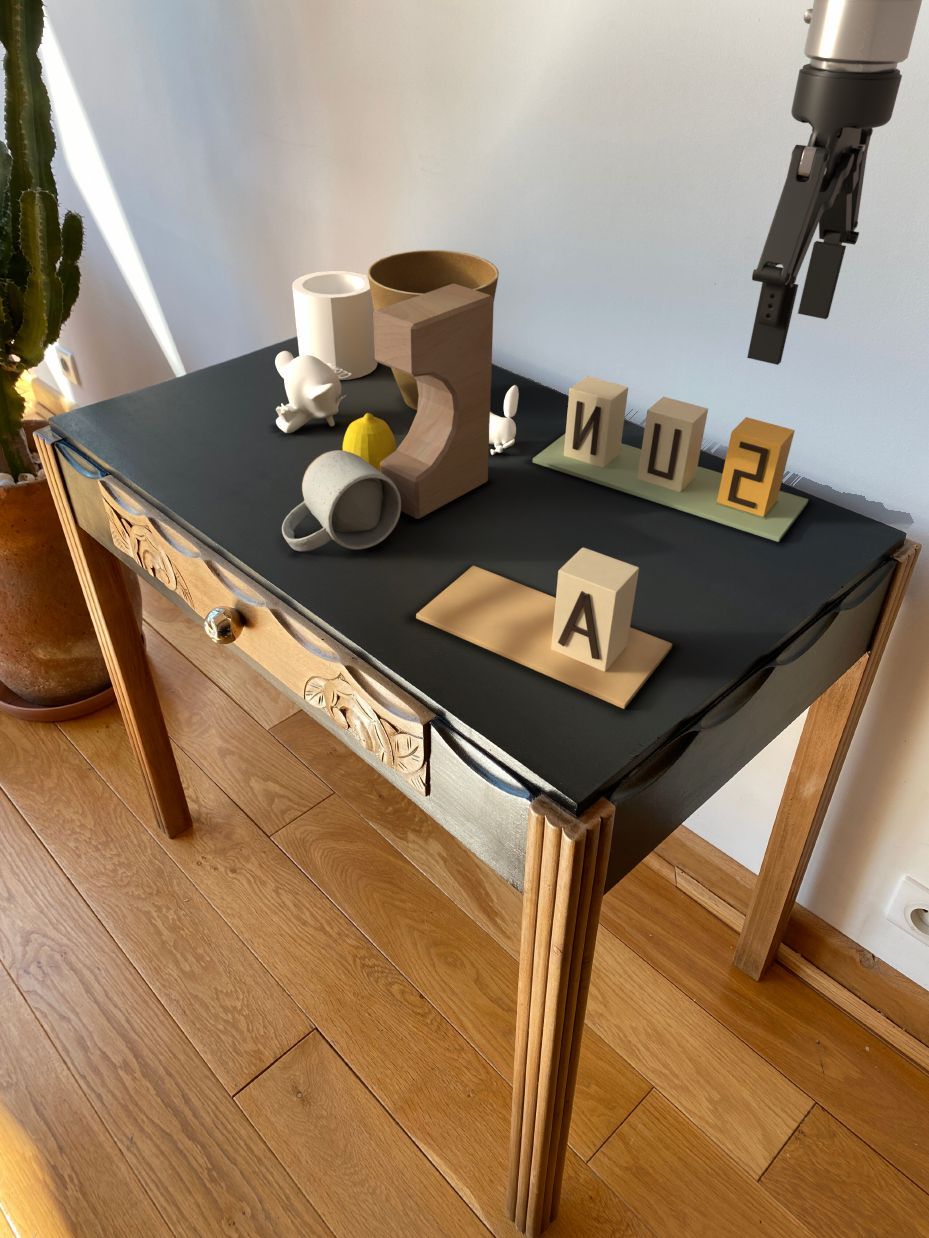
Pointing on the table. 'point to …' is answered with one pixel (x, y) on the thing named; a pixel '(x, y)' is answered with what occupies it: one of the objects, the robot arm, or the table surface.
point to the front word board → (536, 634)
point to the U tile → (672, 443)
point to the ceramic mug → (344, 503)
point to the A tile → (593, 608)
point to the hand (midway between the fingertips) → (789, 337)
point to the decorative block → (440, 393)
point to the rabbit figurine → (504, 423)
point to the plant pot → (425, 286)
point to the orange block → (755, 466)
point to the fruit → (370, 440)
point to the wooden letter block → (595, 421)
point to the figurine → (307, 390)
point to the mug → (336, 320)
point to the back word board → (691, 499)
